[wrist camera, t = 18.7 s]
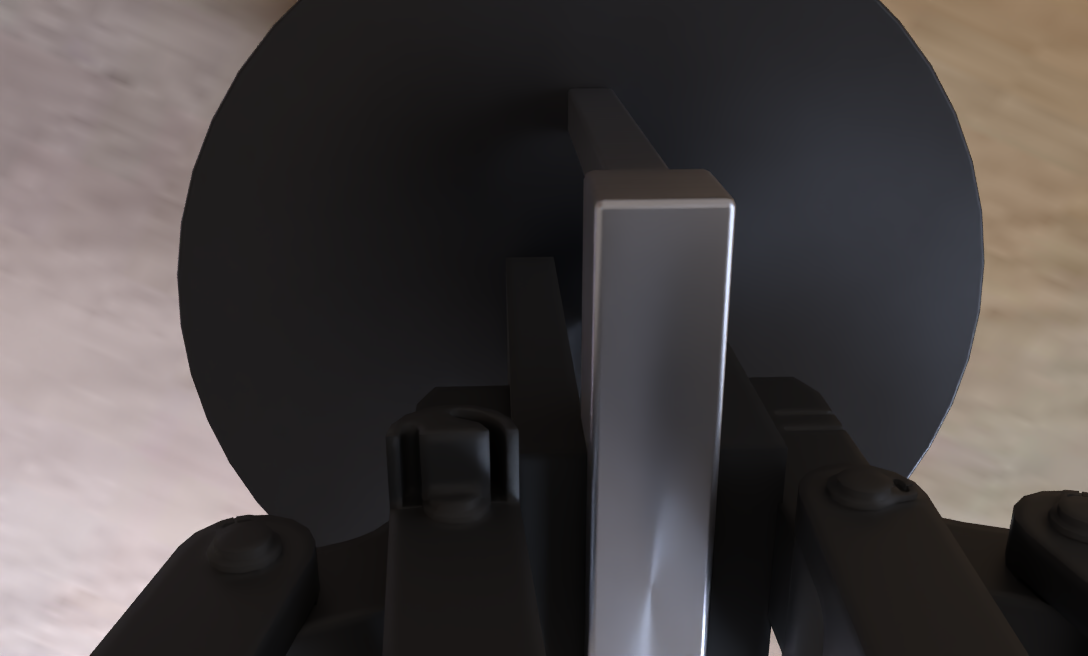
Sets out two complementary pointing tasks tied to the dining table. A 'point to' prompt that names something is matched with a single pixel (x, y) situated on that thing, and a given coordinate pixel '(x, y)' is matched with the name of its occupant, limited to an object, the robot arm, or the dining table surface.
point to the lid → (578, 251)
